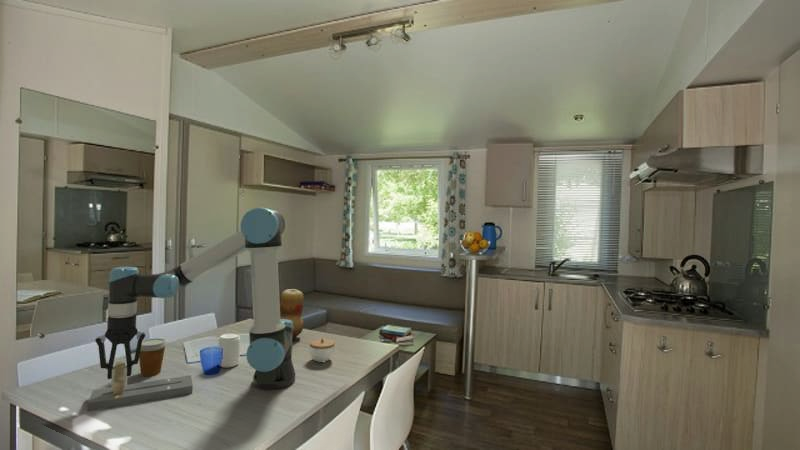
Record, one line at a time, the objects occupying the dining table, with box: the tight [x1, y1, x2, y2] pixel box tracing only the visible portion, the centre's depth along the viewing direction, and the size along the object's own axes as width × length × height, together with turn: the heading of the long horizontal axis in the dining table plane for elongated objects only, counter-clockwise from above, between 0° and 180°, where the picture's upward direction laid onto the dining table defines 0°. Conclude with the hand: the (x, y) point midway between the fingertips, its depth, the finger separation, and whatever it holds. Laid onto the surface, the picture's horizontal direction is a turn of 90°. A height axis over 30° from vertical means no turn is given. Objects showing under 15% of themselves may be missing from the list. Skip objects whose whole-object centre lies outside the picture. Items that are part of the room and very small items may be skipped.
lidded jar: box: [309, 338, 335, 363], centre depth 165 cm, size 11×11×9 cm
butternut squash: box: [279, 288, 305, 340], centre depth 193 cm, size 14×13×25 cm
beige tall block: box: [114, 360, 126, 395], centre depth 122 cm, size 2×4×9 cm, turn 32°
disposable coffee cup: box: [138, 337, 168, 377], centre depth 144 cm, size 10×10×12 cm
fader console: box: [86, 374, 193, 412], centre depth 126 cm, size 28×10×3 cm, turn 122°
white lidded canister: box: [218, 332, 241, 368], centre depth 155 cm, size 8×8×12 cm
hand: (119, 387), depth 122 cm, fingers closed on beige tall block, 2 cm apart
